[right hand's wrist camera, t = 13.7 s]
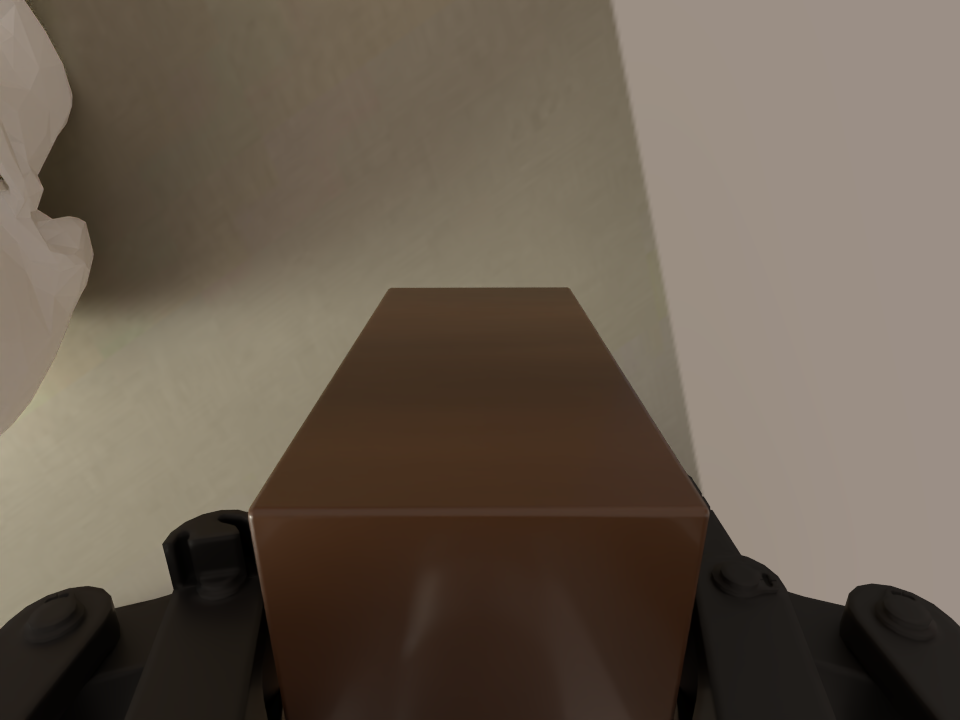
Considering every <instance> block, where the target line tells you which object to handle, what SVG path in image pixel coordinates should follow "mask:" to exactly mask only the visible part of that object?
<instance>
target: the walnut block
mask: <svg viewBox="0 0 960 720" xmlns="http://www.w3.org/2000/svg"><path fill="white" fill-rule="evenodd" d="M248 521H249V526H250V531H251V537H252V542H253V548H254V553H255V558H256V564H257V569H258V575H259V580H260V585H261V591H262V596H263V602H264V607H265V613H266V618H267V623H268V629H269V634H270V640H271V645H272V650H273V656H274V661H275V667H276V672H277V678H278V683H279V688H280V694H281V699H282V705H283V710H284V715H285V720H674V714H675V708H676V702H677V697H678V691H679V685H680V680H681V674H682V668H683V663H684V657H685V651H686V646H687V640H688V634H689V629H690V623H691V617H692V612H693V606H694V600H695V595H696V589H697V583H698V578H699V572H700V566H701V561H702V555H703V549H704V544H705V538H706V532H707V527H708V521H709V510H708V507H707V505H706V503H705V502H704V500H703V499H702V497H701V496H700V494H699V492H698V491H697V489H696V488H695V486H694V484H693V483H692V481H691V480H690V478H689V477H688V475H687V473H686V472H685V470H684V469H683V467H682V465H681V464H680V462H679V461H678V459H677V458H676V456H675V454H674V453H673V451H672V450H671V448H670V446H669V445H668V443H667V442H666V440H665V439H664V437H663V435H662V434H661V432H660V431H659V429H658V427H657V426H656V424H655V423H654V421H653V420H652V418H651V416H650V415H649V413H648V412H647V410H646V408H645V407H644V405H643V404H642V402H641V401H640V399H639V397H638V396H637V394H636V393H635V391H634V389H633V388H632V386H631V385H630V383H629V382H628V380H627V378H626V377H625V375H624V374H623V372H622V370H621V369H620V367H619V366H618V364H617V362H616V361H615V359H614V358H613V356H612V355H611V353H610V351H609V350H608V348H607V347H606V345H605V343H604V342H603V340H602V339H601V337H600V336H599V334H598V332H597V331H596V329H595V328H594V326H593V324H592V323H591V321H590V320H589V318H588V317H587V315H586V313H585V312H584V310H583V309H582V307H581V305H580V304H579V302H578V301H577V299H576V298H575V296H574V294H573V293H572V291H571V290H570V288H567V287H566V288H390V289H388V291H387V292H386V294H385V296H384V297H383V299H382V300H381V302H380V303H379V305H378V307H377V308H376V310H375V311H374V313H373V315H372V316H371V318H370V319H369V321H368V322H367V324H366V326H365V327H364V329H363V330H362V332H361V333H360V335H359V337H358V338H357V340H356V341H355V343H354V344H353V346H352V348H351V349H350V351H349V352H348V354H347V355H346V357H345V359H344V360H343V362H342V363H341V365H340V366H339V368H338V370H337V371H336V373H335V374H334V376H333V377H332V379H331V381H330V382H329V384H328V385H327V387H326V388H325V390H324V392H323V393H322V395H321V396H320V398H319V400H318V401H317V403H316V404H315V406H314V407H313V409H312V411H311V412H310V414H309V415H308V417H307V418H306V420H305V422H304V423H303V425H302V426H301V428H300V429H299V431H298V433H297V434H296V436H295V437H294V439H293V440H292V442H291V444H290V445H289V447H288V448H287V450H286V451H285V453H284V455H283V456H282V458H281V459H280V461H279V462H278V464H277V466H276V467H275V469H274V470H273V472H272V473H271V475H270V477H269V478H268V480H267V481H266V483H265V485H264V486H263V488H262V489H261V491H260V492H259V494H258V496H257V497H256V499H255V500H254V502H253V503H252V505H251V507H250V508H249V512H248Z"/></svg>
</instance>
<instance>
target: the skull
mask: <svg viewBox="0 0 960 720" xmlns="http://www.w3.org/2000/svg"><path fill="white" fill-rule="evenodd" d="M72 96H73V95H72V91H71V88H70V85H69V82H68V79H67V76H66V72H65V69H64V66H63V63H62V61H61V59H60V58H59V56H58V54H57V52H56V50H55V48H54V46H53V44H52V43H51V41H50V39H49V37H48V35H47V33H46V31H45V30H44V28H43V27H42V25H41V24H40V22H39V21H38V19H37V18H36V16H35V15H34V13H33V12H32V10H31V9H30V7H29V6H28V4H27V3H26V2H25V0H0V175H1V176H2V177H3V179H4V180H1V179H0V435H1V434H2V433H4V432H5V431H6V430H7V429H8V428H9V427H10V426H11V425H12V424H13V423H14V422H15V420H16V419H17V418H18V417H19V415H20V414H21V413H22V412H23V411H24V409H25V408H26V407H27V406H28V404H29V403H30V402H31V400H32V399H33V397H34V395H35V393H36V391H37V389H38V388H39V386H40V384H41V382H42V380H43V378H44V377H45V375H46V373H47V371H48V369H49V368H50V366H51V364H52V362H53V360H54V358H55V356H56V354H57V351H58V349H59V347H60V344H61V342H62V339H63V337H64V334H65V332H66V330H67V327H68V324H69V321H70V319H71V316H72V313H73V311H74V309H75V307H76V305H77V302H78V300H79V298H80V296H81V294H82V292H83V291H84V289H85V287H86V285H87V282H88V278H89V273H90V269H91V265H92V261H93V257H94V253H93V249H92V245H91V241H90V237H89V233H88V229H87V225H86V222H85V221H83V220H81V219H79V218H77V217H71V216H66V217H61V218H55V219H52V218H50V217H49V216H47V215H46V214H44V213H42V212H41V211H39V210H38V209H37V208H38V205H39V202H40V199H41V196H42V193H43V190H44V188H43V186H42V184H41V182H40V179H39V177H38V174H39V172H40V170H41V168H42V166H43V164H44V162H45V160H46V158H47V156H48V154H49V152H50V150H51V148H52V146H53V144H54V142H55V140H56V138H57V136H58V134H59V133H60V132H61V130H62V129H63V128H64V126H65V125H66V124H67V121H68V118H69V114H70V111H71V108H72Z"/></svg>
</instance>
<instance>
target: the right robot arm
mask: <svg viewBox="0 0 960 720" xmlns="http://www.w3.org/2000/svg"><path fill="white" fill-rule="evenodd" d="M688 477H689V478H690V480H691V481H692V483H693V484H694V486H695V488H696V489H697V491H698V492H699V494H700V496H701V497H702V493H701V492H700V490H699V488H698V487H697V485H696V484H695V482H694V481H693V479H692V478H691V477H690V476H689V475H688ZM702 499H703V500H704V502H705V503H706V505H707V507H708V510H709V521H708V527H707V532H706V538H705V544H704V549H703V555H702V561H701V566H700V572H699V578H698V583H697V589H696V595H695V600H694V606H693V612H692V617H691V623H690V629H689V634H688V640H687V646H686V651H685V657H684V663H683V668H682V674H681V680H680V685H679V691H678V697H677V702H676V708H675V714H674V720H960V626H959V625H958V624H957V623H956V622H955V621H954V620H953V619H952V618H950V617H949V616H948V615H947V614H945V613H944V612H943V611H941V610H940V609H939V608H938V607H936V606H935V605H934V604H932V603H930V602H928V601H927V600H925V599H923V598H921V597H919V596H917V595H915V594H913V593H911V592H908V591H905V590H902V589H899V588H896V587H893V586H887V585H879V584H867V585H861V586H857V587H856V588H855V589H854V590H852V591H851V592H850V593H849V595H848V599H847V602H846V605H845V606H843V605H838V604H834V603H829V602H825V601H821V600H816V599H812V598H808V597H804V596H800V595H797V594H794V593H790V592H788V591H787V590H786V588H785V586H784V585H783V583H782V582H781V580H780V579H779V577H778V576H777V575H776V574H774V573H773V572H772V571H771V570H770V569H768V568H767V567H766V566H765V565H763V564H761V563H759V562H757V561H755V560H753V559H751V558H749V557H746V556H742V555H741V554H740V553H739V551H738V550H737V548H736V546H735V545H734V543H733V542H732V540H731V539H730V537H729V535H728V534H727V532H726V531H725V529H724V528H723V526H722V524H721V523H720V521H719V520H718V518H717V517H716V515H715V514H714V512H713V510H710V506H709V504H708V503H707V501H706V499H705V498H704V497H702ZM162 545H163V549H164V553H165V557H166V561H167V565H168V569H169V573H170V577H171V581H172V585H173V588H174V590H173V593H172V594H170V595H167V596H164V597H160V598H157V599H153V600H149V601H145V602H140V603H136V604H132V605H127V606H123V607H119V608H114V604H113V601H112V598H111V596H110V595H109V594H108V593H107V592H106V591H105V590H104V589H102V588H96V587H91V586H84V587H76V588H69V589H66V590H63V591H60V592H56V593H54V594H51V595H48V596H46V597H44V598H42V599H40V600H38V601H36V602H34V603H33V604H31V605H29V606H27V607H26V608H24V609H23V610H22V611H21V612H19V613H18V614H17V615H16V616H14V617H13V618H12V619H10V620H9V621H8V622H7V623H6V624H5V625H4V626H3V627H2V628H1V629H0V720H285V715H284V710H283V705H282V699H281V694H280V688H279V683H278V678H277V672H276V667H275V661H274V656H273V650H272V645H271V640H270V634H269V629H268V623H267V618H266V613H265V607H264V602H263V596H262V591H261V585H260V580H259V575H258V569H257V564H256V558H255V553H254V548H253V542H252V537H251V531H250V526H249V521H248V512H244V511H241V510H220V511H215V512H211V513H207V514H203V515H200V516H198V517H196V518H193V519H191V520H189V521H187V522H185V523H183V524H182V525H181V526H179V527H178V528H177V529H175V530H174V531H172V532H171V533H170V535H169V536H168V537H167V539H166V540H165V541H164V543H163V544H162Z"/></svg>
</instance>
